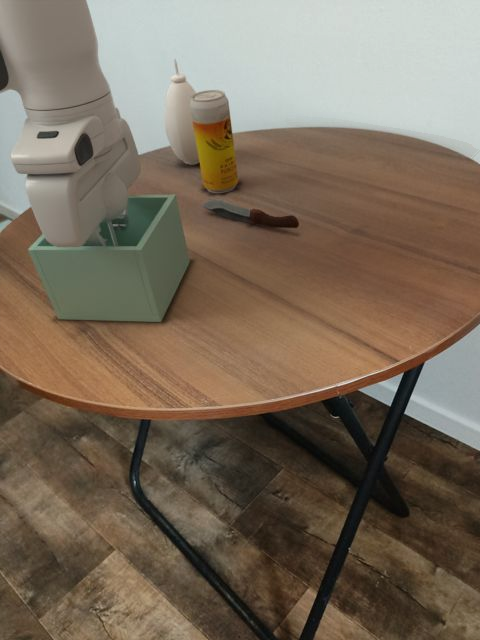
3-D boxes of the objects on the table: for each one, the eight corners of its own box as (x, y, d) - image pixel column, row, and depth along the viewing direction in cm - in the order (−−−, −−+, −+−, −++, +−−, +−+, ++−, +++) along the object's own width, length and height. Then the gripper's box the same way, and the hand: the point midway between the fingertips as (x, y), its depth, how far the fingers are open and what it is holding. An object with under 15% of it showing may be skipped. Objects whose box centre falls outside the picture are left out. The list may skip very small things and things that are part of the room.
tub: (58, 319, 65) (27, 249, 59) (99, 261, 75) (77, 195, 69) (161, 322, 63) (140, 249, 56) (190, 261, 73) (175, 194, 66)
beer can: (230, 195, 88) (217, 101, 78) (198, 193, 90) (181, 100, 80) (244, 180, 92) (233, 89, 82) (212, 178, 94) (198, 88, 84)
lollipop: (135, 298, 65) (101, 184, 55) (95, 293, 67) (55, 181, 57) (158, 272, 70) (130, 161, 60) (120, 267, 71) (87, 159, 61)
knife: (198, 213, 84) (195, 195, 82) (204, 209, 85) (201, 191, 83) (296, 238, 75) (295, 219, 73) (301, 233, 76) (300, 214, 74)
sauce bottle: (182, 175, 96) (161, 67, 84) (167, 162, 102) (145, 59, 90) (220, 163, 99) (205, 57, 87) (203, 152, 104) (186, 50, 92)
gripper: (88, 97, 63) (119, 203, 72) (0, 164, 48) (53, 287, 58) (137, 94, 62) (162, 202, 71) (62, 162, 47) (106, 288, 56)
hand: (113, 241), depth 64 cm, fingers closed on lollipop, 5 cm apart
